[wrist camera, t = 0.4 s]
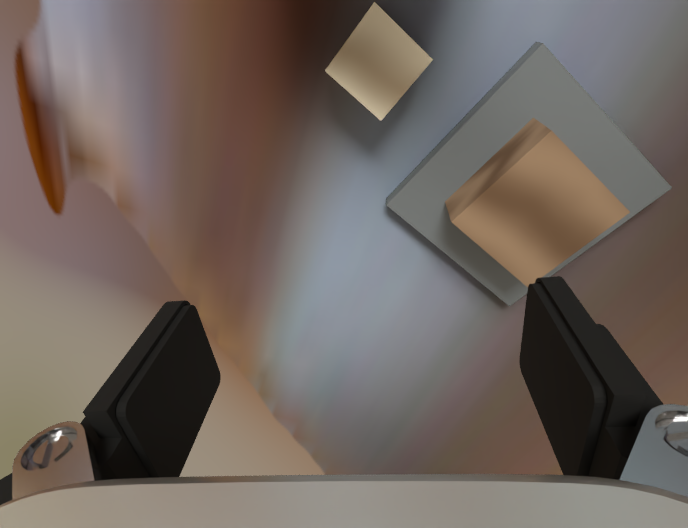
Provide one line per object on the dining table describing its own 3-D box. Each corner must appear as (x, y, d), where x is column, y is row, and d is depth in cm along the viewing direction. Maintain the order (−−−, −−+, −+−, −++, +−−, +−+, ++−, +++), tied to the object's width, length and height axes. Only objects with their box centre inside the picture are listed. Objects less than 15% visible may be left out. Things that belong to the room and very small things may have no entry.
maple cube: (375, 3, 30) (374, 1, 25) (426, 53, 31) (432, 59, 27) (332, 63, 32) (324, 70, 28) (381, 107, 33) (380, 121, 29)
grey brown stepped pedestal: (536, 41, 30) (564, 47, 25) (661, 181, 34) (705, 208, 30) (386, 198, 37) (386, 225, 32) (505, 297, 41) (520, 333, 37)
